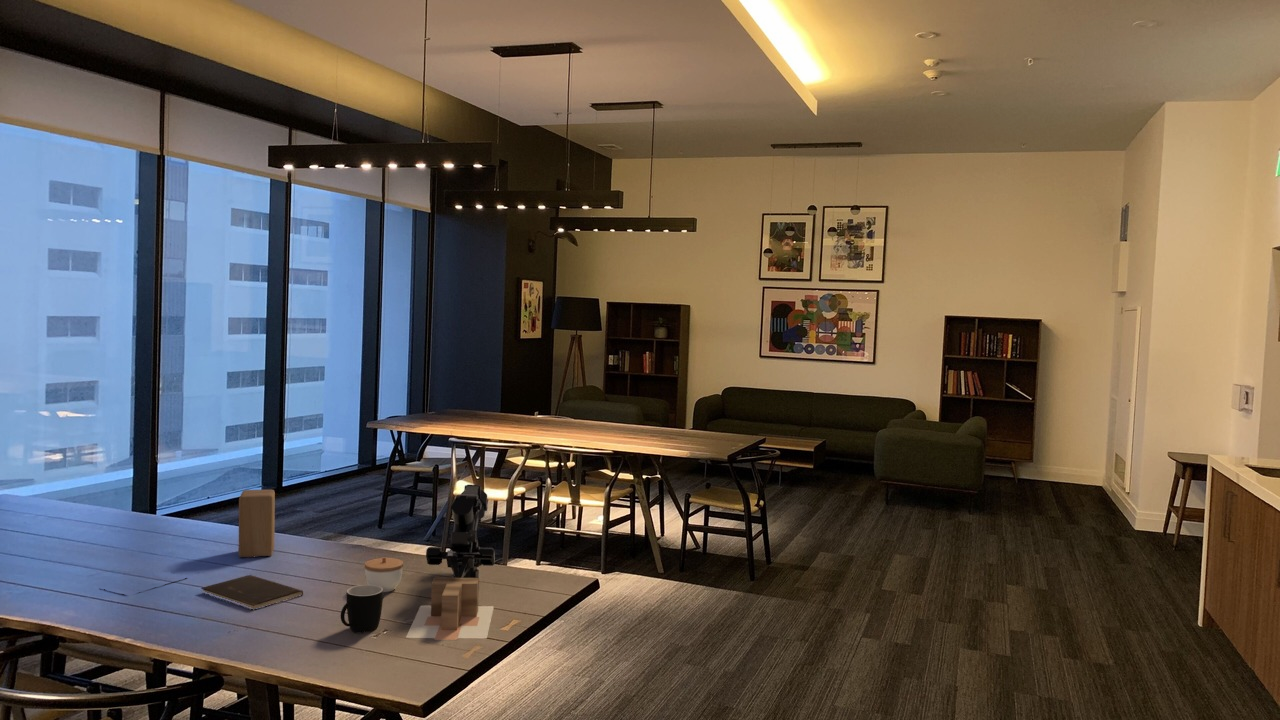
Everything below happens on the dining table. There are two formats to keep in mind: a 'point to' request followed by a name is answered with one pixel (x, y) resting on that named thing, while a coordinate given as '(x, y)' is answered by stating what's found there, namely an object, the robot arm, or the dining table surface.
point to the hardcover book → (252, 591)
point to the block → (256, 523)
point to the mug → (363, 608)
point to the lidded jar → (384, 572)
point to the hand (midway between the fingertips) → (457, 583)
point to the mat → (467, 628)
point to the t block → (454, 600)
